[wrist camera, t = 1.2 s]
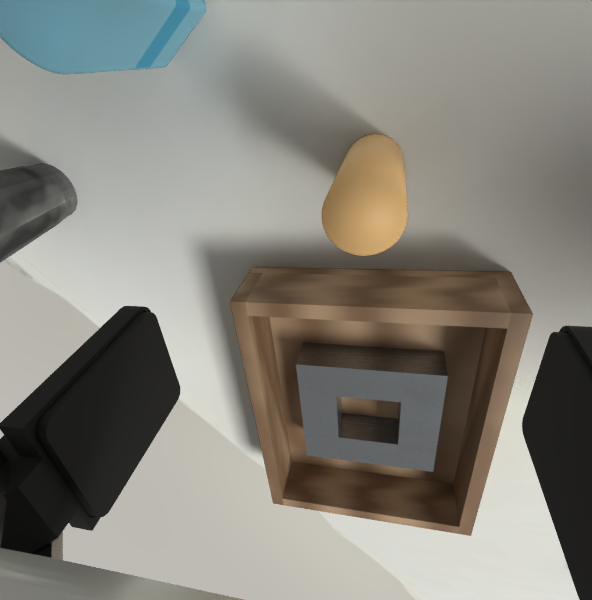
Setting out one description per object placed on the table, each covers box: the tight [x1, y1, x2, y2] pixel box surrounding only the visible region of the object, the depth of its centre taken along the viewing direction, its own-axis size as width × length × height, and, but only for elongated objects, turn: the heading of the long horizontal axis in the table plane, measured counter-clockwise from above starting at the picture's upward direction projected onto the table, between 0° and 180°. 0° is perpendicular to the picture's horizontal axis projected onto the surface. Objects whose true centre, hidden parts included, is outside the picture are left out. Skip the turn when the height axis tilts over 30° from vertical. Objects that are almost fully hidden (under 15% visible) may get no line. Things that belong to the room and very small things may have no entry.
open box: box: [230, 267, 533, 536], centre depth 35 cm, size 20×26×6 cm
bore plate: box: [296, 342, 448, 472], centre depth 35 cm, size 12×12×3 cm
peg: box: [322, 134, 408, 256], centre depth 22 cm, size 4×4×10 cm
